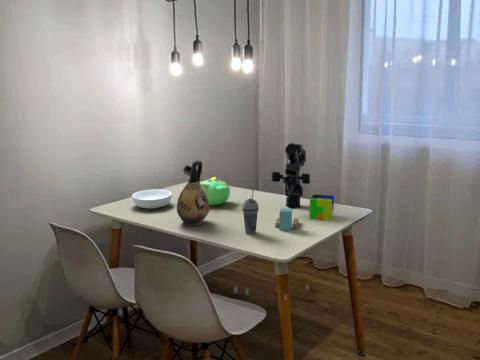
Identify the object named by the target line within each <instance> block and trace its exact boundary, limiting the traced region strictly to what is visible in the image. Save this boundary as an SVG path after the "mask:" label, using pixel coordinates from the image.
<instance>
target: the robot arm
mask: <svg viewBox="0 0 480 360" xmlns="http://www.w3.org/2000/svg"><path fill="white" fill-rule="evenodd" d="M284 151H285V152H284V153H285V156H286V157H285V158H286V163H285V168H284V170H285V171H284V173H283V174H281V171H272V173H271V182H273V183H278V182H280V181H281V180H282V182H283V184H284V196H285V197H286V199H285V201H286V203H285V207H287V208H288V209H296V208H297V209H298V208H302V205H301V197H303V196H304V187H303V186H302V184H303V185H304V184H305V185H309V184H310V183H311V175H310V173H307V172H306V173H305V172H304V173H303V172H302V173H301V169H302V167H303V166H304V165H305V163H306V162H307V152H306V150H305V149H304V148H303V144H300V143H293V142H292V143H291V142H290V143H287V146H285V149H284ZM301 183H302V184H301Z"/></svg>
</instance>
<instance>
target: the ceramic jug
mask: <svg viewBox="0 0 480 360" xmlns="http://www.w3.org/2000/svg"><path fill="white" fill-rule="evenodd" d="M202 170H203V162H202V161H201V160H199V159H198V160H194V161H193V162H192V164H191V166H190V165H185V166H184V167H183V174H184V175H187V176H189V180H188V181H187V183H186V185H185V186H184V187H183V189H182V190H181V192H180V193H179V196H178V198H177V203H176V212H177V216H178V217H179V219H180V220H181V221H182V224H183V225H184V226H186V227H187V226H188V227H197V226H199V225H202V224H203V222H204V220H205V219H206V217H207V216H208V214H209V212H210V205H209V200H208V197H207V195H206V193H205V191H204V190H203V188H202V187H201V185H200V183H201V180H200V179H201V176H202Z"/></svg>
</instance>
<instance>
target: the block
mask: <svg viewBox="0 0 480 360" xmlns="http://www.w3.org/2000/svg"><path fill="white" fill-rule="evenodd" d="M279 217H280V228H279V231H280V230H281V231H282V230H283V231H284V232H285V231H286V232H291V231H292V229H293V228H292V223H293V208H288V207H287V208H282V207H281V208H280V210H279Z"/></svg>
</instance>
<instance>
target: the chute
mask: <svg viewBox="0 0 480 360" xmlns="http://www.w3.org/2000/svg"><path fill="white" fill-rule="evenodd" d="M298 225H299V217H294V218H293V219H292V228H291V229H293V228H298ZM275 228H279V229H280V216H278V217H277V218H276V221H275Z"/></svg>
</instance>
